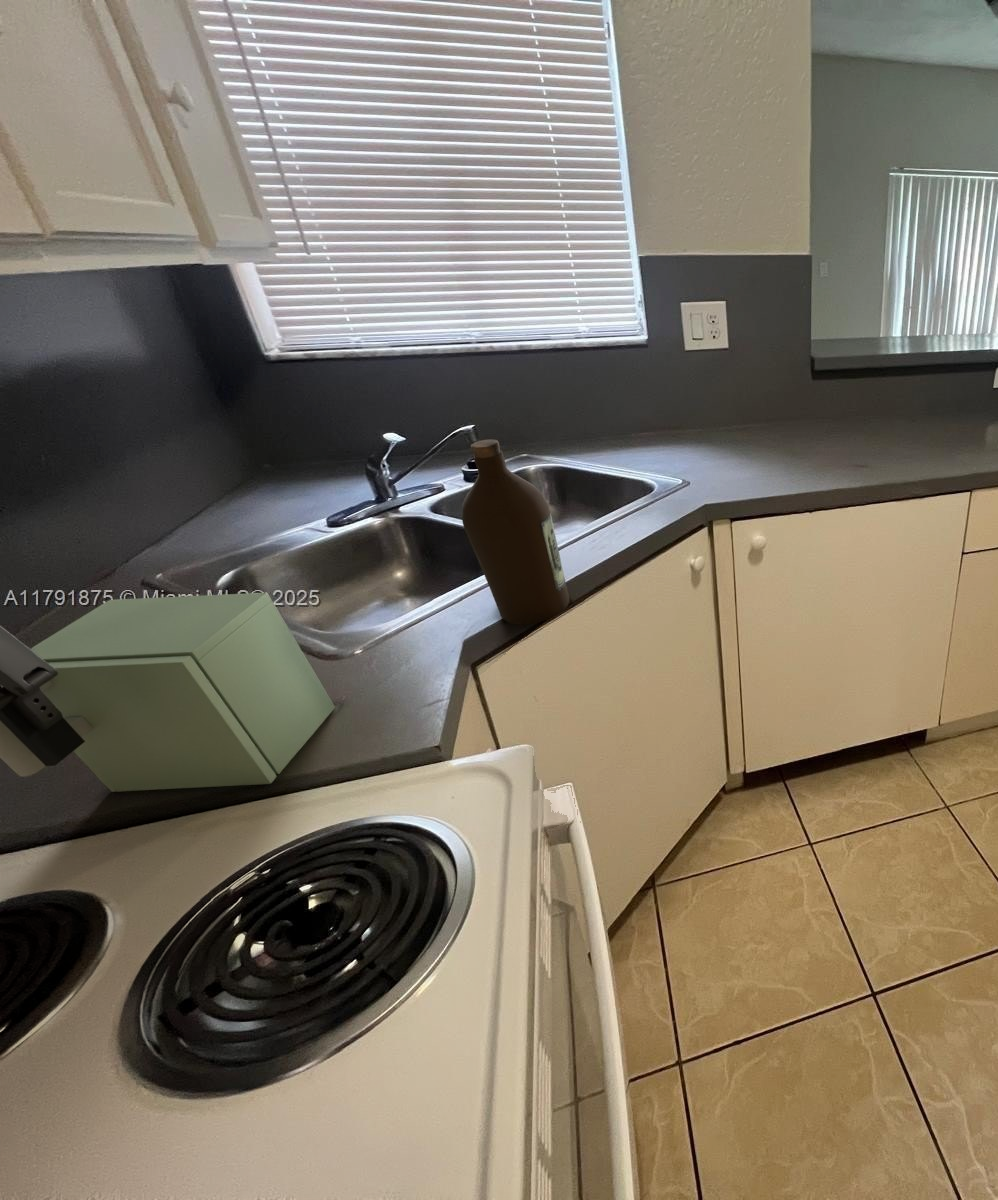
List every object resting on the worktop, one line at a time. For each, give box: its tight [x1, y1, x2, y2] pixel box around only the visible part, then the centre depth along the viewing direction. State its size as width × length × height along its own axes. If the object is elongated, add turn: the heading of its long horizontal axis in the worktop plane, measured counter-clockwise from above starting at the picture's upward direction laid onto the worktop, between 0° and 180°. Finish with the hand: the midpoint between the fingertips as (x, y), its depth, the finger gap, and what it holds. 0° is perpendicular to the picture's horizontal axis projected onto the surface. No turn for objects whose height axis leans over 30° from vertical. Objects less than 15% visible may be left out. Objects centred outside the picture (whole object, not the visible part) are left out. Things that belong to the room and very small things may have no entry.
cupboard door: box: [0, 656, 277, 793], centre depth 57 cm, size 7×16×17 cm, turn 92°
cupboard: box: [30, 592, 336, 775], centre depth 65 cm, size 10×16×17 cm, turn 92°
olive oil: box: [461, 439, 570, 626], centre depth 84 cm, size 11×11×25 cm
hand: (2, 756), depth 53 cm, fingers open, 10 cm apart
